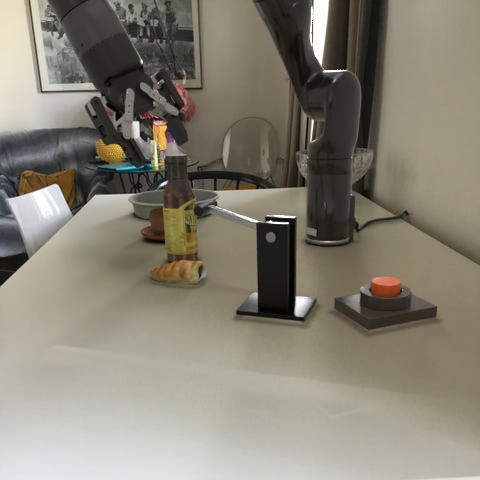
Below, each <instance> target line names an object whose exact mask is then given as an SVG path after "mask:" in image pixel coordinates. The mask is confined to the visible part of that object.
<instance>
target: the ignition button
mask: <svg viewBox="0 0 480 480" xmlns="http://www.w3.org/2000/svg"><path fill="white" fill-rule="evenodd" d="M370 283H371V292H372V293H373V294H377V295H382V296H393V295H399V294H400V290H401V285H402V281H401V279H399V278H397V277H393V276H377V277H373V278H371V282H370Z"/></svg>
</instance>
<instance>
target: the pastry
mask: <svg viewBox="0 0 480 480" xmlns="http://www.w3.org/2000/svg"><path fill="white" fill-rule="evenodd" d="M149 275H150V276H151V278H152V279H153V280H154V281H156V282H162V283H167V284H177V285H191V286H192V285H193V286H195V285H197V284H198V283H200V281H201V280H202V279H204V278H207V270H206V265H205V264H204V262H203V261H202V260H198V261H197V260H190V261H185V260H180V261H179V262H178V261H176V262H172V263H171V262H168V263H166V264H165V265H164V264H162V265H159V266H156V267H154V268H153V269H151V270H150V272H149Z"/></svg>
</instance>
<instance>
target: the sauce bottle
mask: <svg viewBox="0 0 480 480" xmlns="http://www.w3.org/2000/svg"><path fill="white" fill-rule="evenodd" d="M164 157H165V164H166V172H167V173H166V174H167V176H166V178H167V181H166V183H165V185H164V187H163V189H162V190H163V216H164V231H165V241H164V242H165V244H164V245H165V253H166V259H167V261H168V263H172V262H179V261H180V260H185V261H197V260H198V258H199V257H198V256H199V255H198V253H199V239H198V238H199V236H198V219H197V216H196V215H195V214H194V208H195V207H196V198H195V195H194V193H193V190H192V189H193V188H192V185H191V183H190V180H189V175H188V162H189V160H188V154H186V153H173V154H165V155H164Z"/></svg>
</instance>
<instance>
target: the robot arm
mask: <svg viewBox="0 0 480 480" xmlns="http://www.w3.org/2000/svg"><path fill="white" fill-rule="evenodd" d="M251 1H252V3H253V5H254V7H255V9H256V11H257V14H258V16H259V17H260V20H261V21H262V23H263V25H264V26H265V28H266V30H267V32H268V34H269V36H270V38H271V40H272V43H273V44H274V47H275V49H276V51H277V53H278V55H279V57H280V59H281V61H282V64H283V65H284V68H285V70H286V73H287V76H288V78H289V79H288V80H289V81H290V84H291V87H292V89H293V92H294V95H295V97H296V99H297V102H298V105H299V107H300V108H301V110H302V112H303V114H304V115H305V116H306V117H307V118H308V119H310V120H312V121H315V122H323V130H322V133H321V134H320V136H319V137H318V138H316V139H314V140H311V141H310V142H309V143H308V145H307V148H306V196H305V197H306V198H305V199H306V201H305V202H306V203H305V236H304V237H305V238H304V239H305V242H306V243H308V244H311V245H316V246H327V247H328V246H331V247H333V246H341V245H345V244H348V243H350V242H354V238H355V237H354V236H355V234H354V232H355V231H357V232H359V231H361V230H362V229H363V228H366V226H368V225H371V224H373V223H379V222H385V221H393V220H398V219H402V217H403V216H404V215H406V216H409V215H410V214H409V211H408V210H407V209H404V210H402V212H401V213H400V214H398V215H393V216H387V217H379V218H373V219H370V220H366V221H365V222H364V223H362V224H361V225H360V223H359V221H357V218H356V195H355V194H352V192H353V172H354V171H353V170H354V169H353V167H354V150H355V147H356V145H357V141H358V137H359V128H360V119H361V108H362V88H361V83H360V80H359V78H358V77H357V75H356V73H354V72H352V71H350V70H347V69H345V70H344V69H343V70H341V69H340V70H338V69H337V70H324V68H323V67H322V64H321V62H320V61H319V59H318V57H317V54H316V52H315V50H314V46H313V43H312V24H313V23H312V22H313V21H312V20H313V1H312V0H251ZM46 2H47V3H48V5H49V7H50V9H51V10H52V12H53V14H54V15H55V18H56V19H57V21H58V22H59V24H60V26H61V28H62V30H63V32H64V34H65V37H66V39H67V41H68V43H69V45H70V47H71V49H72V50H73V52H74V54H75V56H76V57H77V59H78V61H79V62H80V63H79V64H81V67H82V68H83V69H84V71H85V73H86V75H87V76H88V78H89V80H90V81H91V84H92V85H93V87H94V89H95V90H97V91H99V93H100V97H99V96H97V95H94V96H93V97H91V98H90V100H88V101H87V102H86V103H85V104H84V109H85V111H86V113H87V115H88V117H89V118H90V120H91V122H92V125H93V127H94V128H95V130H96V132H97V134H98V135H99V139H100V140H101V141H102V144H103V145H105V146H110V145H118V146H119V147H120V149H121V150H122V151H123V153H124V155H125V157H126V159H127V160H128V162H129V164H130V165H132V166H134V167H135V168H136V169H139V168H141V167H144V165H146V164H147V163H148V161H147V159H146V157H145V155H144V154H143V151H142V150H141V148H140V146H139V145H138V143H137V141H136V139H135V138H134V137H132V124H133V122H134V120H135V119H136V118H137V117H140V116H144V115H146V114H147V113H149V114H150V115H151V116H157V117H159V118H160V119H161V120H163V121H164V122H166V123H165V126H166V128H167V130H168V132H169V134H170V135H171V137H172V139H173V141H174V142H175V144H176V146H177V147H181V146H182V145H184V144H186V143H188V142H189V134H188V131H187V130H186V127H185V125H184V124H183V122H182V120H181V118H180V116H179V114H180V112H181V110H182V109H183V108H184V107H185V105H186V104H185V101H184V100H183V98H182V96H181V94H180V93H179V91H178V89H177V87H176V86H175V84H174V82H173V81H172V79H171V78H170V76H169V74H168V72H167V71H166V69H164V68H160V69H159V70H158V71H156V72H155V73H154V74H152V75H149V74H148V73H147V72H146V71H145V69H144V62H143V58H142V57H141V55H140V53H139V51H138V50H137V48H136V46H135V44H134V42H133V41H132V39H131V36H130V35H129V33H128V31H127V30H126V28H125V26H124V24H123V22H122V21H121V19H120V17H119V14H118V13H117V12H116V11H115V9H114V8H113V6H112V5H111V3H110V2H109V0H46ZM155 90H156V91H155ZM108 110H110V111H112V112H113V121H112V119H111V117H110V116H109V113H108Z"/></svg>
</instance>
